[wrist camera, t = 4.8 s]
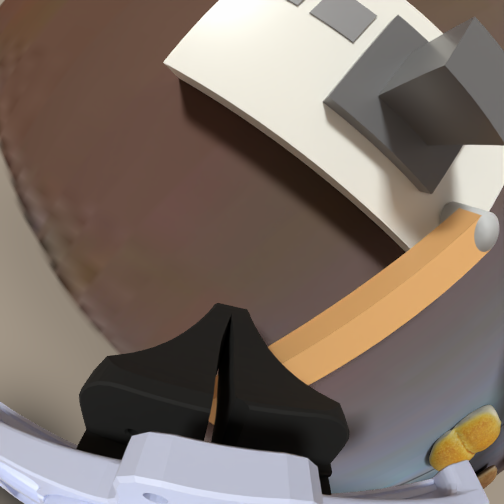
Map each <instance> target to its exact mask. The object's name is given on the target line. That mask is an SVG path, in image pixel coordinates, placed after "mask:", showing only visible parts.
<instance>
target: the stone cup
mask: <svg viewBox="0 0 504 504" xmlns="http://www.w3.org/2000/svg"><path fill="white" fill-rule="evenodd" d="M496 474H497V468H496V466H495V465H492V466H490V467H488V468H486V469H485V470H483V471H482V472H480V473H478V474H477V475H476V476H477V478H478V480H479V482H480V484H481V486H482V488H483V489H484V488H485V487H487V486H488V485H489V484H490V483H491V482H492V481H493V480H494V479H495V477H496Z"/></svg>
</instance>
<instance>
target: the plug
mask: <svg viewBox="0 0 504 504" xmlns="http://www.w3.org/2000/svg"><path fill="white" fill-rule="evenodd" d="M323 103H325V104H326V105H327V106H328V107H330V108H331V109H332V110H333V111H335V112H336V113H337V114H338V115H340V116H341V117H342V118H343V119H344V120H346V121H347V122H348V123H349V124H350V125H352V126H353V127H354V128H355V129H356V130H357V131H359V132H360V133H361V134H362V135H363V136H364V137H365V138H366V139H368V140H369V141H370V142H371V143H372V144H373V145H374V146H375V147H376V148H377V149H378V150H380V151H381V152H382V153H383V154H384V155H385V156H386V157H387V158H388V159H389V160H390V161H391V162H392V163H393V164H394V165H395V166H396V167H397V168H398V169H399V170H400V171H401V172H402V173H403V174H404V175H405V176H406V177H407V178H408V179H409V180H410V181H411V182H412V183H413V185H414V186H415V187H416V188H417V189H418V190H419V191H420V192H424V193H428V194H432V193H433V192H434V190H435V189H436V187H437V186H438V184H439V183H440V181H441V180H442V178H443V177H444V175H445V174H446V172H447V170H448V169H449V167H450V166H451V164H452V162H453V161H454V159H455V158H456V156H457V154H458V153H459V151H460V149H461V148H462V146H463V145H500V146H504V51H503V50H502V48H501V47H500V46H499V44H498V43H497V42H496V41H495V39H494V38H493V37H492V36H491V35H490V33H489V32H488V31H487V30H486V29H485V27H484V26H483V25H482V24H481V23H480V22H479V21H478V20H477V19H476V17H473V18H471V19H469V20H467V21H465V22H464V23H462V24H460V25H458V26H456V27H454V28H453V29H451V30H449V31H447V32H446V33H444V34H442V35H440V36H439V37H437V38H435V39H433V40H432V41H430V42H428V41H427V40H426V39H425V38H424V37H423V36H422V35H421V34H420V33H419V32H418V31H417V30H416V29H414V28H413V27H412V26H411V25H410V24H409V23H408V22H406V21H405V20H404V19H403V18H402V17H400V16H399V15H397V16H396V17H395V18H394V19H393V20H391V21H390V22H389V23H388V25H387V26H386V27H385V28H384V29H383V30H382V31H381V33H380V34H379V35H378V36H377V37H376V38H375V39H374V41H373V42H372V43H371V44H370V45H369V46H368V48H367V49H366V50H365V51H364V52H363V53H362V55H361V56H360V57H359V58H358V59H357V61H356V62H355V63H354V64H353V65H352V67H351V68H350V69H349V70H348V71H347V73H346V74H345V75H344V76H343V77H342V79H341V80H340V81H339V82H338V83H337V85H336V86H335V87H334V88H333V90H332V91H331V92H330V93H329V94H328V96H327V97H326V98H325V99H324V101H323Z"/></svg>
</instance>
